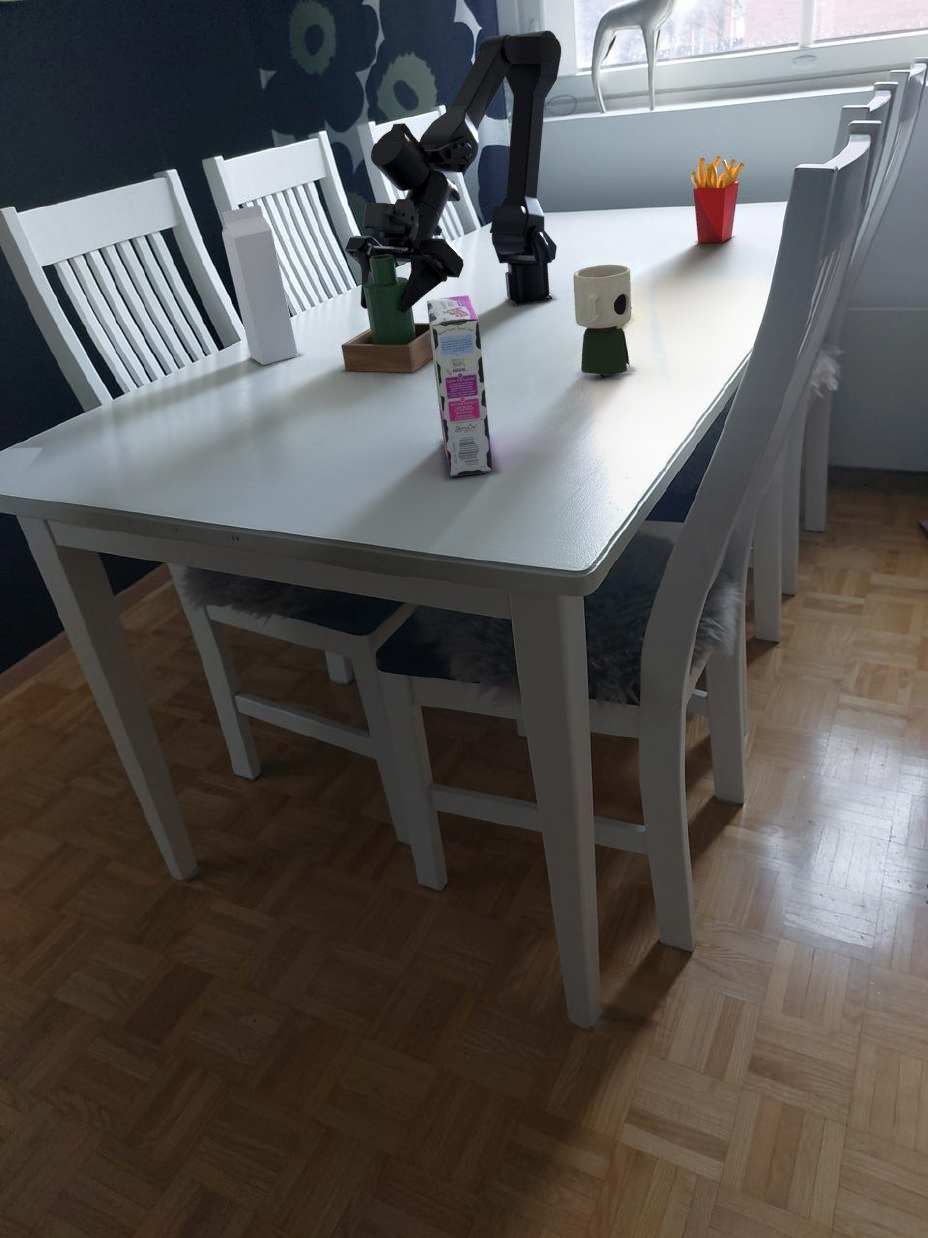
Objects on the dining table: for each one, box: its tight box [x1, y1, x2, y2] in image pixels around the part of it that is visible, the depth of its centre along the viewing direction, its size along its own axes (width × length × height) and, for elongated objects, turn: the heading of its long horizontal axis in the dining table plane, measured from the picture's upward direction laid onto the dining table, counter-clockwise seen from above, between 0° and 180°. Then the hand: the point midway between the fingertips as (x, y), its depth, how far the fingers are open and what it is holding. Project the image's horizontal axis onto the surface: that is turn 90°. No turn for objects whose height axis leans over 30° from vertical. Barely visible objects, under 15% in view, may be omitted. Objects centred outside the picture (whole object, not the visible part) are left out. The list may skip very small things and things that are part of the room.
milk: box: [221, 204, 299, 366], centre depth 144 cm, size 6×6×22 cm
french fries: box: [690, 155, 745, 244], centre depth 179 cm, size 9×8×15 cm
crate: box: [340, 322, 433, 374], centre depth 140 cm, size 11×11×4 cm
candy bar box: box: [426, 295, 494, 478], centre depth 102 cm, size 11×5×16 cm, turn 5°
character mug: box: [572, 264, 633, 378], centre depth 121 cm, size 11×7×13 cm, turn 156°
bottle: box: [363, 254, 416, 345], centre depth 137 cm, size 6×6×14 cm
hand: (382, 309), depth 136 cm, fingers open, 7 cm apart
